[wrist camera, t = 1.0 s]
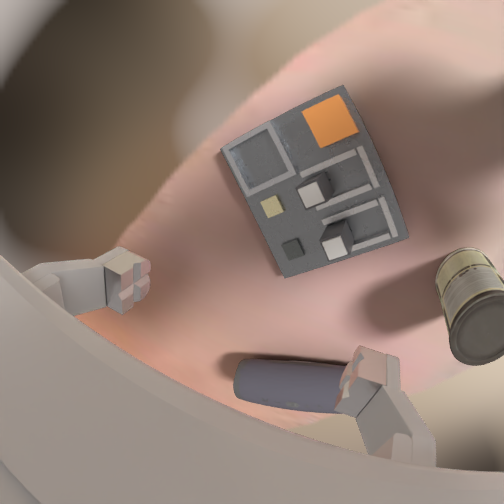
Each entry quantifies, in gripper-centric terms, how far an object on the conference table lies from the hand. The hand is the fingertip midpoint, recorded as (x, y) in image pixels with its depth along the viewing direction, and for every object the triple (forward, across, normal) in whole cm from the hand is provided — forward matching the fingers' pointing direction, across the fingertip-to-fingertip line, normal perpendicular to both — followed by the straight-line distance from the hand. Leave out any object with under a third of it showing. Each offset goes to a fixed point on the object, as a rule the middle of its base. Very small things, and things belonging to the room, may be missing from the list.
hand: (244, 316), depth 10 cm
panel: (+34, +3, +2) cm, 35 cm away
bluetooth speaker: (+35, -6, +35) cm, 50 cm away
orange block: (+32, +2, -8) cm, 33 cm away
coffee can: (+34, -24, +7) cm, 42 cm away
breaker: (+32, -3, +7) cm, 33 cm away
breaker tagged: (+32, +2, +1) cm, 32 cm away
